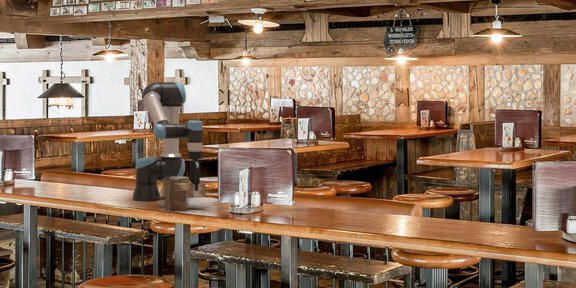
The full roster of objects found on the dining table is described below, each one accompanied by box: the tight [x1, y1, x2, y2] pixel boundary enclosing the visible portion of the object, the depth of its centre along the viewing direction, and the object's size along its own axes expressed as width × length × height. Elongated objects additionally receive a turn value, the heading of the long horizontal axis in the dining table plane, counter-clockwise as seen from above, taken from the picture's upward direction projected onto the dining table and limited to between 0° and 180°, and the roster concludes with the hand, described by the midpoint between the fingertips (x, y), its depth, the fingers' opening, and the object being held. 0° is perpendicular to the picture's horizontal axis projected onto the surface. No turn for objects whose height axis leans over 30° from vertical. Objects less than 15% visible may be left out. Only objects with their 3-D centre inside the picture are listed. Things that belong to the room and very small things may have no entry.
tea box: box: [161, 176, 190, 207], centre depth 466 cm, size 15×10×15 cm
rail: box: [174, 182, 207, 199], centre depth 452 cm, size 16×5×7 cm, turn 108°
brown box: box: [164, 177, 187, 212], centre depth 450 cm, size 14×8×16 cm, turn 18°
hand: (194, 196), depth 453 cm, fingers closed on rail, 5 cm apart
